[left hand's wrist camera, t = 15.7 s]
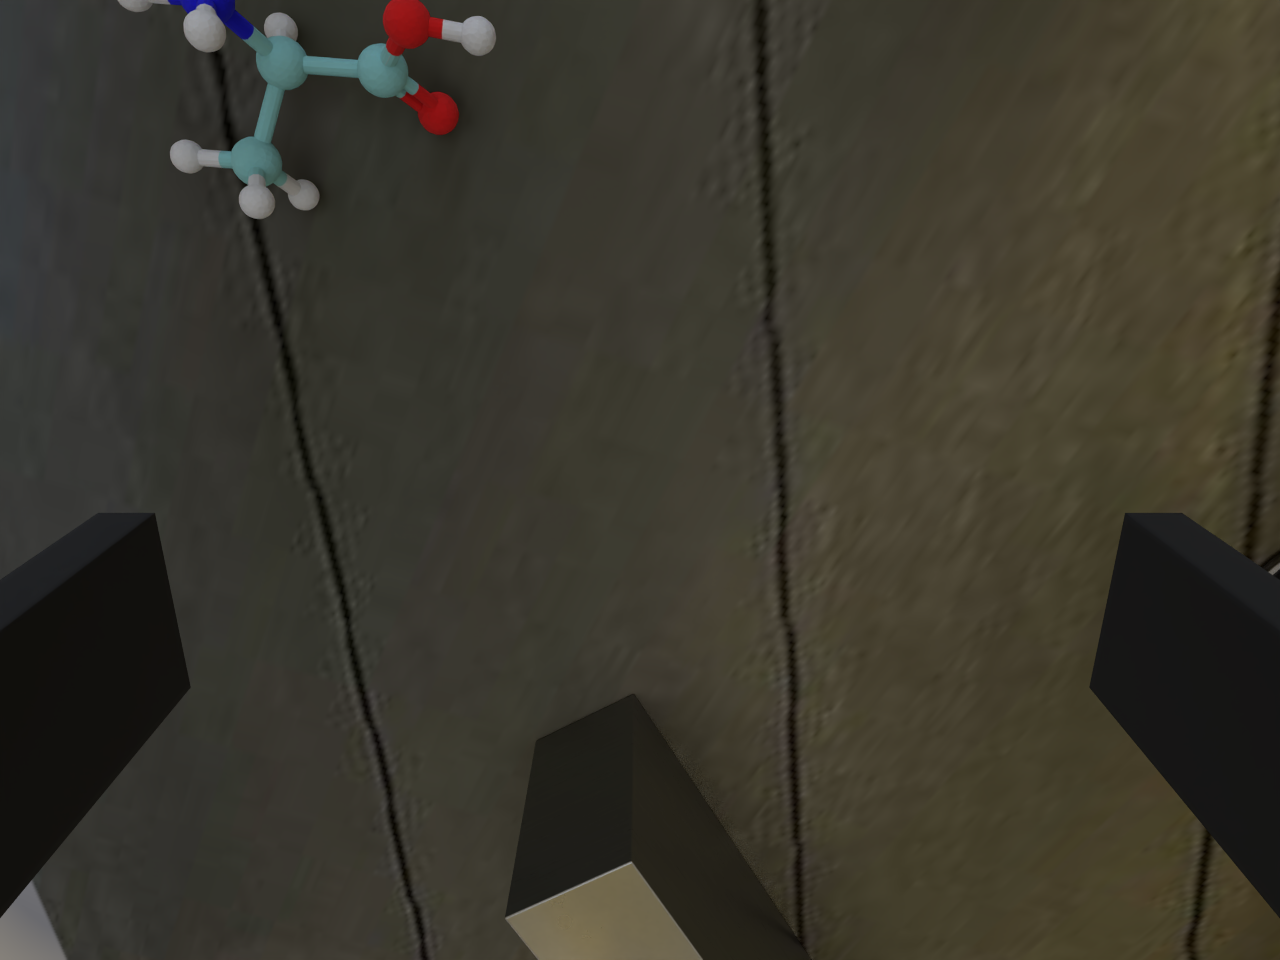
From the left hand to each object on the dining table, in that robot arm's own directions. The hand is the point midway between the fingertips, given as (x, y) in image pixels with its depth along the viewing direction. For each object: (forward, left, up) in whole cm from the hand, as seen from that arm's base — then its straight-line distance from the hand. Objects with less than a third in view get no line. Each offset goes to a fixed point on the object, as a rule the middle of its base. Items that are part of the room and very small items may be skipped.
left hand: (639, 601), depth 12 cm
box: (+5, +33, -28) cm, 44 cm away
